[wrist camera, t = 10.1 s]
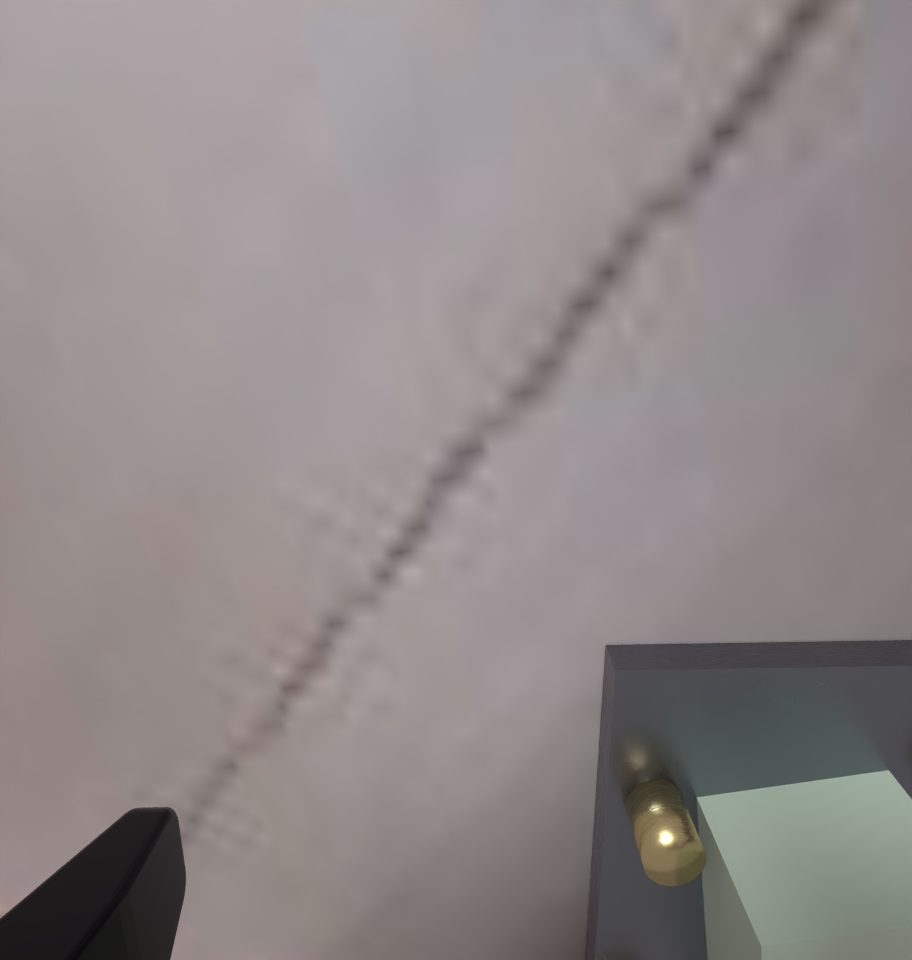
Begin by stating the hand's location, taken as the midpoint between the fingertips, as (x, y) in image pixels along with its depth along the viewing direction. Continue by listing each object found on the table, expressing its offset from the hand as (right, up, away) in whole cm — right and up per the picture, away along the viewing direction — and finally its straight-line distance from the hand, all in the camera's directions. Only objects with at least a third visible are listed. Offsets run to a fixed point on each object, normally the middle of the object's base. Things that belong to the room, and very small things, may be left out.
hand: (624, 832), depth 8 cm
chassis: (+8, -8, +16) cm, 19 cm away
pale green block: (+8, -9, +15) cm, 19 cm away
